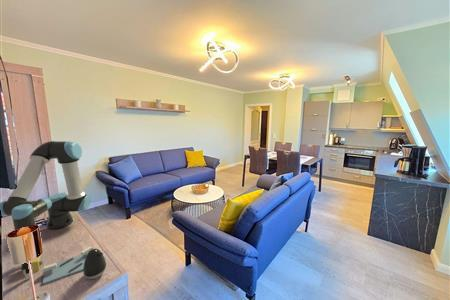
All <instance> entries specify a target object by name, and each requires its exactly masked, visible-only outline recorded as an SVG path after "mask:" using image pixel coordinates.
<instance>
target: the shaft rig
mask: <svg viewBox="0 0 450 300" xmlns="http://www.w3.org/2000/svg"><path fill="white" fill-rule="evenodd" d="M92 249H94V248H93V246H88V247H87V248H85V249H83V250H82V251H80V255H78V256H73V257H71V258H66V259H65V260H61V261H58V262H54V263H50V264H47V265H44V266H43V280H42V286H44V285H46V284H49V283H52V282H55V281H58V280H61V279H63V278H66V277H70V276H72V275H75V274H77V273H81V272H83V267H84V261H85V258H86V256H87V254H88V252H89V251H90V250H92Z"/></svg>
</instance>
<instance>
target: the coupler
mask: <svg viewBox="0 0 450 300" xmlns="http://www.w3.org/2000/svg"><path fill="white" fill-rule="evenodd" d="M43 258H44V257H42V258H41V255H40V256H39V257H38V258H36V259H33V260H32V261H31V265H32V271H33V273H35V272H39V271H40V269H41V266H43V264H44V259H43ZM21 268H22V263H21V265H20V266H19V269H20V272H23V276H25V272H24V270H21Z"/></svg>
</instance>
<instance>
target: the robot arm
mask: <svg viewBox="0 0 450 300" xmlns="http://www.w3.org/2000/svg"><path fill="white" fill-rule="evenodd" d="M82 153H83V150H82V146H81V145H80V144H79V143H78V142H76V141H62V140H61V141H56V140H51V141H47V142H43V143H42V144H39V146H38V147H36V148H35V149H34V150H33V152H31V154H30V156H29V162H28V164H27V165H26V167H25V168H24V171H23V172H22V174H21V176H20V178H19V179H18V181H17V183H16V185H17V188H16V189H14V188H13V190H12V192H11V194H10V195H9V197H8V198H7V200H5V201H4V200H3V201H1V202H0V210H1V215H0V216H11V219H12V222H13V227H14V230H13V231H15V230H17V229H20V228H22V227H26V226H31V225H36V221H35V219H36V218H38V217H39V216H40V215H43V214H44V213H45V212H47V214H48V218H47V223H46V228H47V230H60V229H63V228H65V227H68V226H69V225H71V224H72V223H73V222H74V217H73V216H72V214H71V213H72V212H79V213H80V212H85V211H86V210H87V209H89V207H90V205H91V201H92V198H91V196H90V195H88V194H87V192H86V191H85V190H83V189H84V188H83V184H82V179H81V176H80V175H81V174H80V170H79V164H78V161H80V158H81V157H82V155H83V154H82ZM52 159H53V160H54V159H56V160H57V163H58V164H60V165H61V168H62V173H63V177H64V180H65V186H66V190H67V193H66V192H59V193H56V194H52V195H50V196H49V197H41V198H39V199H37V200H28V199H29V197H30V195H31V193H32V191H33V189H34V188H35V186H36V184H37V182H38V180H39V177H40V175H41V174H42V171H43V170H44V168H45V166H46V165H47V164H49V163H50V161H51V160H52ZM21 264H22V263H21ZM30 264H31V262H30ZM31 269H32V265H31ZM21 270H24V272H25V275H24V277H25V279H26V280H28V279H30V278H31V277H30V276H29V269H28V264H27V263H24V264H22V268H21V269H20V271H21ZM32 274H33V275H34V272H33V271H32Z"/></svg>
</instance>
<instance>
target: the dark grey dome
mask: <svg viewBox="0 0 450 300" xmlns="http://www.w3.org/2000/svg"><path fill="white" fill-rule="evenodd" d="M106 268H107V262H106V257H105V256H104V254H103V252H102V251H101V250H100V249H98V248H93V249H92V250H90V251H89V252H88V254H87V256H86V258H85V261H84V267H83V271H82V273H83V275H84V276H85V278H87V279H90V280H94V279H98V278H99V277H101V275H103V273H104V272H105V270H106Z"/></svg>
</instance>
